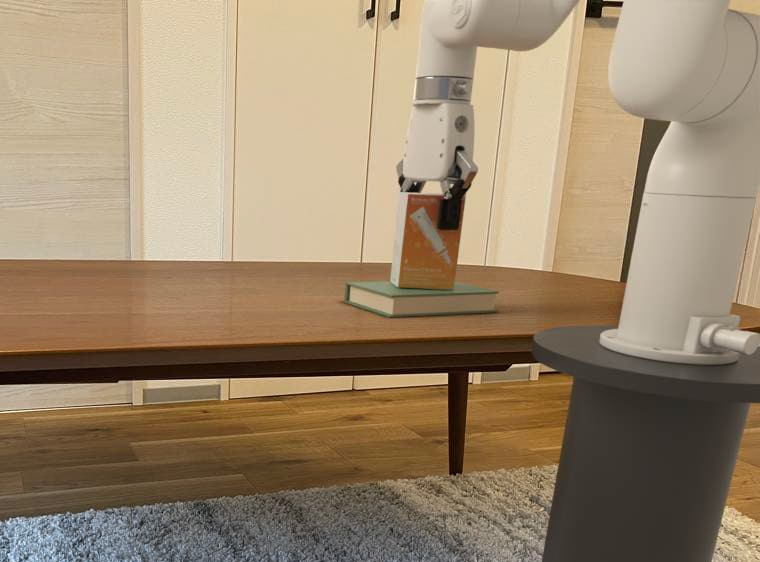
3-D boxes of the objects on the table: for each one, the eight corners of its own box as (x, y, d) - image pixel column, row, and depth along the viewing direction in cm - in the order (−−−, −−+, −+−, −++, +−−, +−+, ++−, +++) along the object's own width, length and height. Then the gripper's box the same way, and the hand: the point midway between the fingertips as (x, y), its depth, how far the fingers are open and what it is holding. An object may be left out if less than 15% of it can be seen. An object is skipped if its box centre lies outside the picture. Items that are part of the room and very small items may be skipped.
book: (496, 312, 111) (499, 291, 110) (389, 317, 104) (392, 295, 104) (443, 298, 122) (445, 279, 121) (344, 302, 115) (345, 282, 114)
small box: (397, 288, 109) (406, 192, 105) (389, 282, 115) (398, 191, 111) (455, 290, 109) (466, 195, 105) (444, 284, 115) (454, 193, 111)
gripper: (509, 92, 98) (490, 232, 103) (426, 100, 114) (413, 222, 119) (461, 88, 95) (444, 232, 101) (382, 96, 111) (371, 222, 116)
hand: (427, 226), depth 110 cm, fingers closed on small box, 8 cm apart
